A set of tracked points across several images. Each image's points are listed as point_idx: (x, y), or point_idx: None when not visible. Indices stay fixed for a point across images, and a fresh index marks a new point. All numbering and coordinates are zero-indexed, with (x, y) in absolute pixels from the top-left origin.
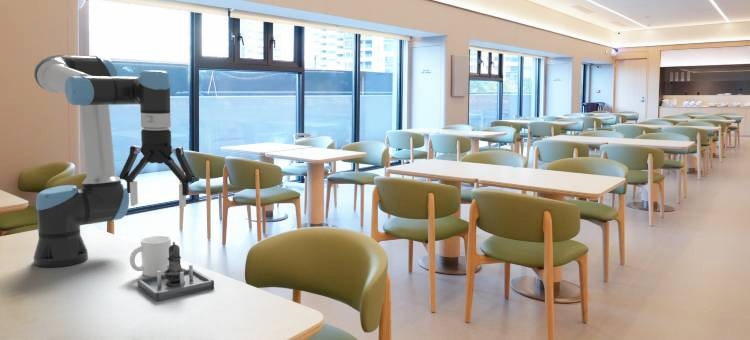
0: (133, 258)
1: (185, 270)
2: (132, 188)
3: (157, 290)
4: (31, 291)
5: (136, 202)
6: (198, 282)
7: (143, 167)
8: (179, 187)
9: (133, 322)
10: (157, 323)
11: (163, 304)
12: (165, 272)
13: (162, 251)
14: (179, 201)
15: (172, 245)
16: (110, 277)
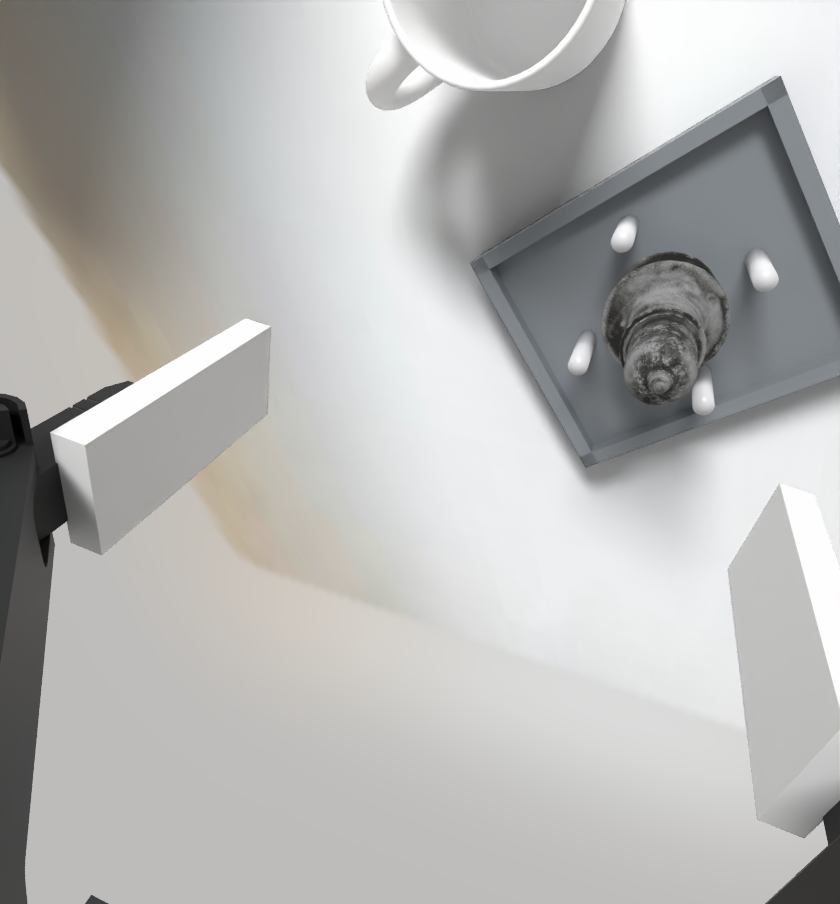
0: (392, 104)
1: (726, 323)
2: (153, 507)
3: (583, 383)
4: (107, 236)
5: (258, 359)
6: (795, 305)
7: (5, 670)
8: (758, 778)
9: (536, 599)
10: (613, 629)
11: (620, 484)
12: (611, 341)
13: (562, 66)
14: (734, 619)
15: (649, 390)
16: (312, 68)
